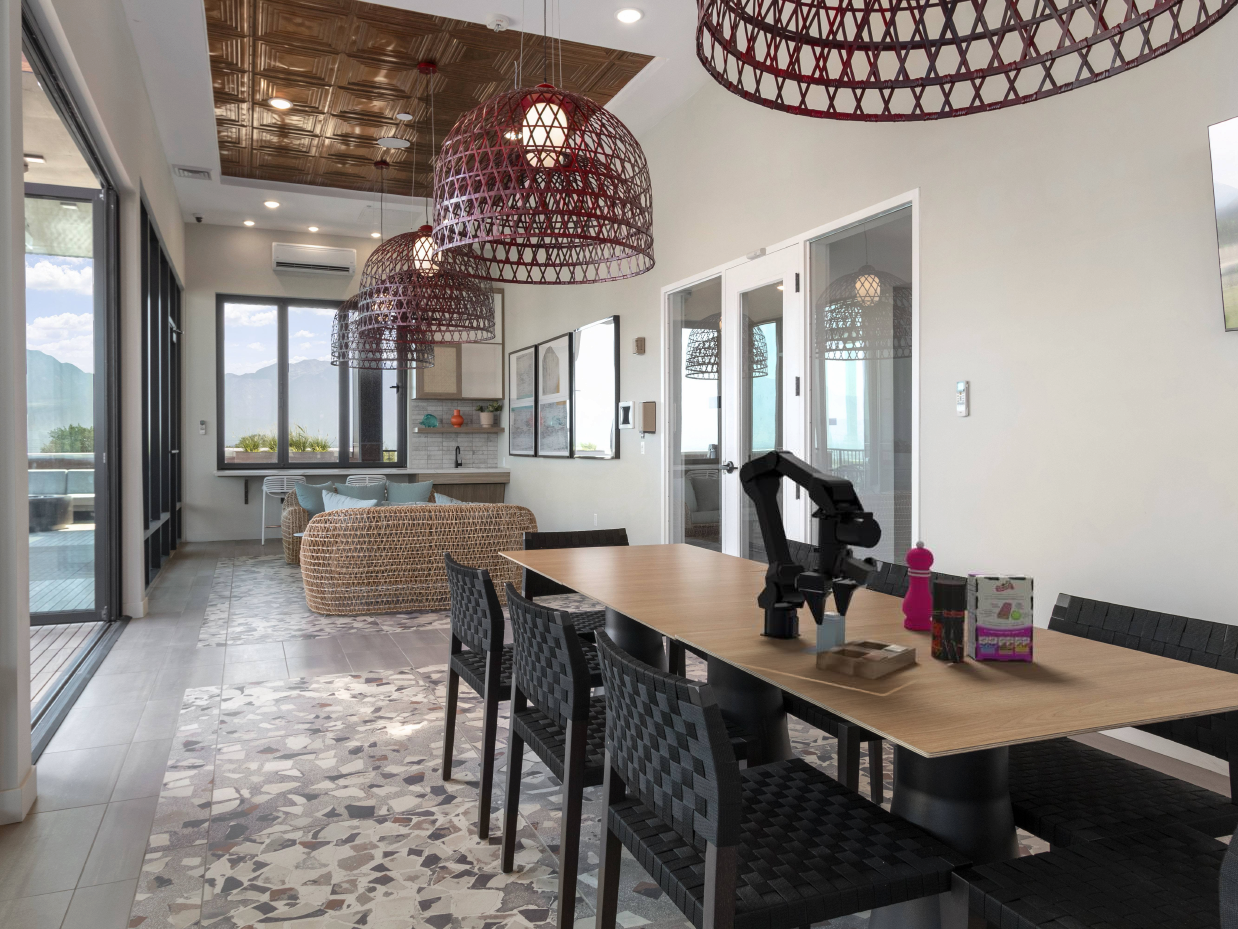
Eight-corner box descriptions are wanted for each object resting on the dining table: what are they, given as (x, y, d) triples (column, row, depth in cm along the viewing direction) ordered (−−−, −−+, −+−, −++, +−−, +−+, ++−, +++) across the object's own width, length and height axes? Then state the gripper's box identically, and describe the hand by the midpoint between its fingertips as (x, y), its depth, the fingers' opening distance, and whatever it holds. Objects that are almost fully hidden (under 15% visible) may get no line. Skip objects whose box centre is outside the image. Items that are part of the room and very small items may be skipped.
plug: (816, 651, 164) (817, 613, 164) (826, 648, 167) (827, 610, 167) (835, 655, 161) (835, 616, 161) (844, 651, 164) (845, 613, 164)
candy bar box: (1021, 656, 165) (1023, 573, 165) (1033, 662, 160) (1035, 577, 160) (964, 654, 165) (966, 572, 165) (974, 661, 160) (976, 576, 160)
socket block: (816, 669, 151) (816, 651, 151) (861, 653, 165) (861, 636, 165) (873, 681, 144) (873, 662, 144) (915, 663, 157) (915, 646, 157)
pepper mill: (939, 631, 187) (941, 542, 187) (907, 630, 187) (909, 542, 187) (928, 624, 194) (930, 539, 194) (897, 624, 194) (899, 538, 194)
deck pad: (798, 653, 164) (798, 651, 163) (821, 646, 170) (821, 644, 170) (840, 662, 157) (840, 659, 157) (862, 654, 164) (862, 652, 164)
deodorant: (966, 663, 158) (968, 585, 158) (933, 661, 159) (935, 583, 159) (960, 656, 164) (962, 580, 163) (928, 654, 165) (930, 579, 165)
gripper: (848, 550, 151) (846, 635, 152) (892, 543, 165) (890, 621, 165) (794, 544, 159) (792, 626, 159) (840, 538, 173) (838, 613, 173)
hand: (830, 621), depth 164 cm, fingers open, 9 cm apart
